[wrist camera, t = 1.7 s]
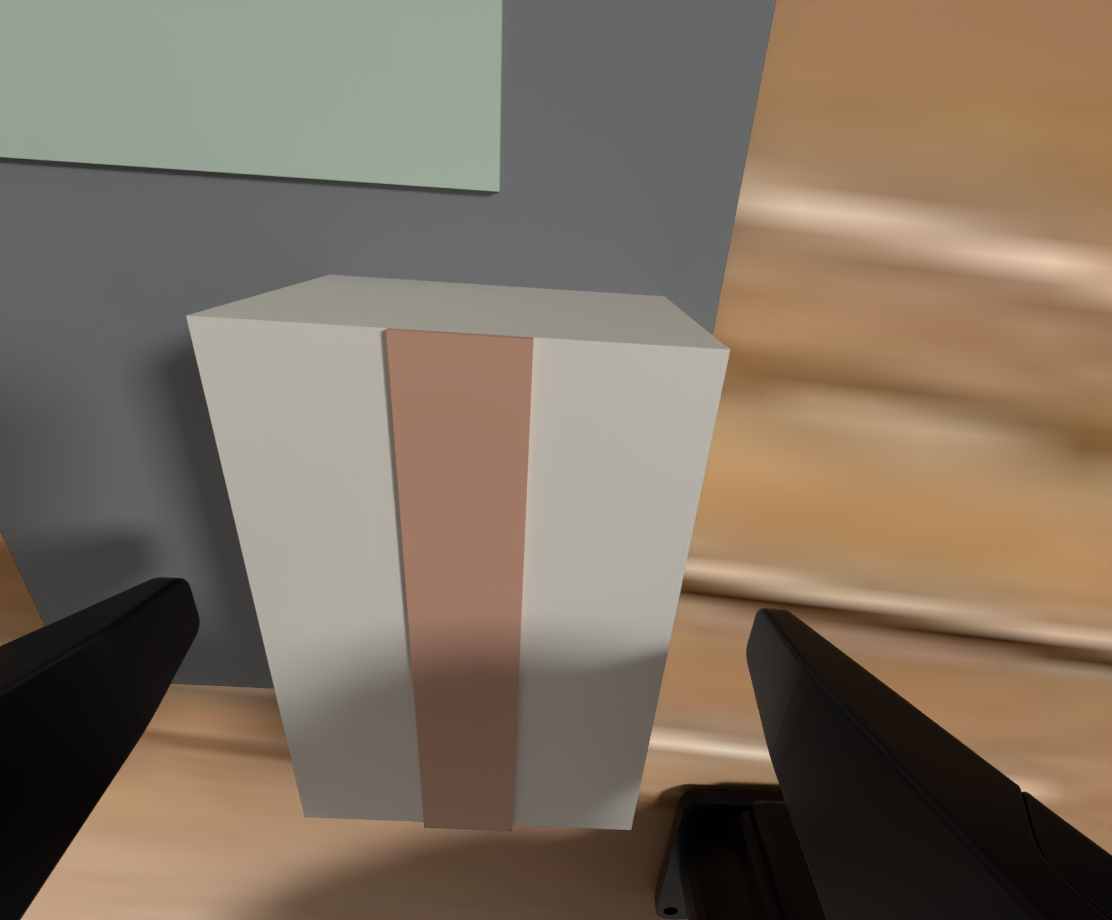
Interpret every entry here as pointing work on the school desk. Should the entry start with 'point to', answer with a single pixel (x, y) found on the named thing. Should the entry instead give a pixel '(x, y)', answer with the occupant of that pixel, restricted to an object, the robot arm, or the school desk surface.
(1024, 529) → the school desk surface
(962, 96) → the school desk surface
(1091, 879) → the robot arm
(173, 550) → the mat
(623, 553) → the card deck
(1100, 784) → the school desk surface
